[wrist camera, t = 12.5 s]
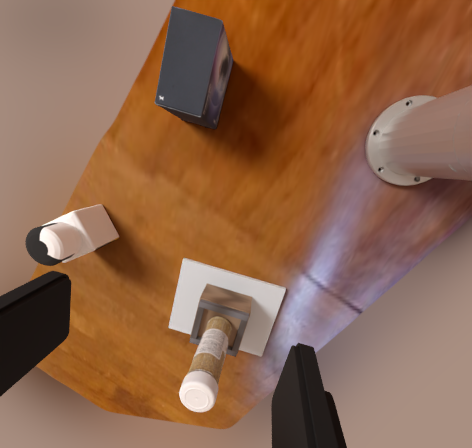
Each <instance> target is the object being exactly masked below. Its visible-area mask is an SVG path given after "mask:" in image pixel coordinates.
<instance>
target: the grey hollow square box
mask: <svg viewBox="0 0 472 448" xmlns="http://www.w3.org/2000/svg"><path fill="white" fill-rule="evenodd" d="M251 304H252V297H251V296H248V295H244V294H241V293H238V292H234V291H231V290H228V289H224V288H221V287H218V286H214V285H211V284H208V283H207V284H206V286H205V288H204V290H203V292H202V295H201V297H200V300H199V304H198V308H197V312H196V316H195V320H194V324H193V328H192V332H191V336H190V342H191V343H194V344H197V345H199V343H200V341H201V338H202V336H203V334H204V332H205V330H206V326H207V323H208V321H209V320H210V319H211V318H213V317H216V316H218V317H223V318H225V319H227V320H228V321H229V323H230V324H231V327H232V332H231V335H230V337H229V341H228V347H227V351H226V354H229V355H232V356H235V357H236V355H237V354H238V350H239V347H240V344H241V341H242V338H243V335H244V332H245V329H246V326H247V323H248V320H249V317H250V313H251Z"/></svg>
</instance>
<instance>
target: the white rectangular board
mask: <svg viewBox="0 0 472 448" xmlns="http://www.w3.org/2000/svg"><path fill="white" fill-rule="evenodd" d="M207 283H208V284H211V285H214V286H218V287H221V288H224V289H228V290H231V291H234V292H238V293H241V294H244V295H248V296H251V297H252V304H251V313H250V317H249V320H248V323H247V326H246V329H245V332H244V335H243V338H242V341H241V344H240V347H239V350H242V351H245V352H248V353H251V354H255V355H258V356H261V357H262V354H263V352H264V349H265V346H266V343H267V341H268V338H269V335H270V332H271V330H272V327H273V324H274V321H275V318H276V316H277V313H278V310H279V307H280V305H281V302H282V299H283V296H284V294H285V291H286V288H285V287H281V286H278V285H275V284H271V283H268V282H264V281H261V280H258V279H254V278H251V277H248V276H244V275H241V274H237V273H234V272H231V271H227V270H224V269H220V268H217V267H214V266H210V265H207V264H204V263H200V262H197V261H193V260H190V259H187V258H184V259H183V262H182V267H181V271H180V276H179V281H178V285H177V290H176V295H175V299H174V304H173V309H172V313H171V318H170V323H169V327H168V328H171V329H174V330H177V331H181V332H184V333H187V334H190V335H191V332H192V328H193V324H194V320H195V316H196V312H197V308H198V304H199V300H200V297H201V295H202V292H203V290H204V288H205V286H206V284H207Z"/></svg>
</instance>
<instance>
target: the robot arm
mask: <svg viewBox="0 0 472 448" xmlns="http://www.w3.org/2000/svg"><path fill="white" fill-rule="evenodd" d="M406 103H407V106H406ZM373 132H375V135H373ZM365 152H366V159H367V161H368V164H369V166H370V168H371V169H372V171H373V172H374V173H375V174H376V175H377V176H378V177H379V178H381V179H382V180H384V181H386V182H388V183H391V184H396V185H404V186H408V185H416V184H420V183H423V182H426V181H428V180H430V179H432V178H443V179H455V180H467V181H472V85H471V86H468V87H466V88H463V89H460V90H458V91H455V92H452V93H450V94H447V95H445V96H442V97H439V98H436V97H433V96H426V95H422V96H413V97H409V98H405V99H403V100H401V101H398V102H396V103H395V104H393V105H391V106H389V107H388V108H387V109H386V110H384V111H383V112H382V113H381V114H380V115H379V116H378V117H377V118H376V120H375V121H374V123H373V124H372V126H371V128H370V130H369V133H368V135H367V139H366V146H365ZM379 168H380V171H378V169H379ZM414 178H415V180H414ZM70 299H71V280H69V277H68V275H66V274H63V273H59V272H56V271H50V272H48V273H46V274H44V275H42V276H40V277H38V278H36V279H34V280H32V281H30V282H28V283H26V284H24V285H22V286H20V287H18V288H16V289H14V290H12V291H10V292H8V293H6V294H4V295H2V296H0V396H2V395H3V394H4V393H5V392H6V391H7V390H8V389H9V388H11V387H12V386H13V385H14V384H15V383H16V382H18V381H19V380H20V379H21V378H22V377H23V376H24V375H26V374H27V373H28V372H29V371H30V370H31V369H32V368H34V367H35V366H36V365H37V364H38V363H39V362H40V361H42V360H43V359H44V358H45V357H46V356H47V355H48V354H50V353H51V352H52V351H53V350H54V349H55V348H56V347H58V346H59V345H60V344H61V343H62V342H63V341H64V340H65V339H66V338H67V336H68V334H69V323H70ZM272 448H347V446H346V443H345V439H344V436H343V432H342V428H341V425H340V421H339V417H338V414H337V410H336V406H335V403H334V400H333V397H332V395H331V393H330V392H327V391H324V387H323V384H322V379H321V375H320V371H319V367H318V363H317V359H316V355H315V351H314V348H313V347H310V346H307V345H304V344H300V343H298V344H297V345H296V346H292V347H291V349H290V352H289V354H288V357H287V360H286V362H285V365H284V368H283V370H282V373H281V376H280V378H279V381H278V384H277V386H276V389H275V392H274V395H273V398H272Z"/></svg>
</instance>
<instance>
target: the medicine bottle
mask: <svg viewBox="0 0 472 448" xmlns="http://www.w3.org/2000/svg"><path fill="white" fill-rule="evenodd" d="M118 238H119V235H118V233H117V231H116V229H115V227H114V225H113V224H112V222H111V220H110V218H109V216H108V214H107V212H106V210H105V209H104V207H103V205H102V204H99V205H95V206H91V207H87V208H83V209H79V210H75V211H72V212H70V213H68V214H66V215H63V216H61V217H59V218H57V219H55V220H53V221H51V222H49V223H47V224H44V225H42V226H40V227H37V228H34V229H32V230H31V231H30V232H29V233H28V235H27V237H26V248H27V251H28V253H29V254H30V256H31V257H32V258H33V259H34V260H35V261H37V262H38V263H40V264H43V265H47V266H53V265H56V264H58V263H60V262H63V263H66V262H68V261H70V260H73V259H75V258H78V257H80V256H82V255H85V254H87V253H90V252H92V251H95V250H97V249H99V248H101V247H103V246H104V245H106V244H108V243H110V242H112V241H114V240H116V239H118Z"/></svg>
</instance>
